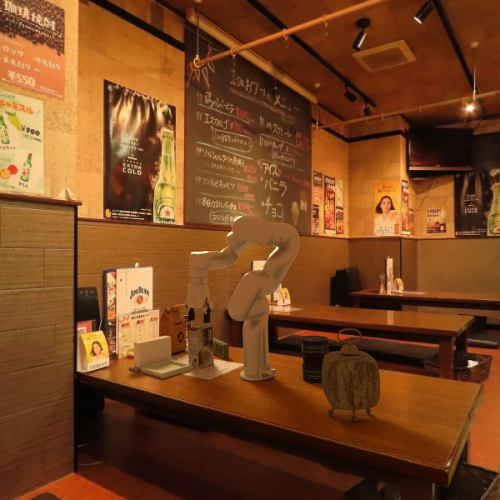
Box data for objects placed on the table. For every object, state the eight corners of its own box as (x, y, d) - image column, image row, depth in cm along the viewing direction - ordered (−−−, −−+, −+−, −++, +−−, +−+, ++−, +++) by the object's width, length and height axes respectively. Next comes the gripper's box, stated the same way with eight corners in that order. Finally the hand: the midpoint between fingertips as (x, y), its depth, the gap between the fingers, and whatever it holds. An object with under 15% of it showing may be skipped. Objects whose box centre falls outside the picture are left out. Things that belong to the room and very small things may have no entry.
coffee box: (203, 361, 178) (202, 324, 178) (214, 364, 174) (213, 325, 174) (187, 366, 171) (186, 328, 171) (198, 369, 167) (197, 329, 167)
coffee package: (190, 350, 201) (188, 305, 201) (172, 356, 190) (170, 308, 190) (174, 348, 206) (173, 304, 206) (156, 353, 195) (155, 307, 196)
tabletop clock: (372, 411, 118) (369, 324, 118) (384, 424, 109) (380, 330, 109) (322, 413, 118) (320, 326, 118) (330, 426, 109) (327, 332, 109)
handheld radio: (222, 359, 182) (202, 348, 204) (229, 358, 183) (209, 348, 206) (222, 344, 182) (203, 335, 204) (229, 343, 184) (209, 334, 206)
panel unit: (176, 361, 181) (175, 336, 181) (137, 371, 166) (136, 344, 166) (168, 359, 185) (167, 334, 185) (128, 369, 170) (128, 342, 170)
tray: (192, 369, 167) (192, 364, 167) (162, 378, 155) (161, 373, 155) (171, 364, 176) (171, 359, 176) (141, 372, 165) (140, 367, 165)
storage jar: (298, 381, 147) (297, 339, 147) (307, 374, 156) (306, 334, 156) (325, 385, 142) (323, 342, 143) (333, 377, 151) (332, 336, 151)
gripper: (178, 280, 176) (179, 320, 176) (205, 282, 165) (206, 325, 165) (192, 279, 182) (192, 318, 182) (219, 281, 170) (219, 322, 170)
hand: (199, 321), depth 173 cm, fingers open, 9 cm apart
